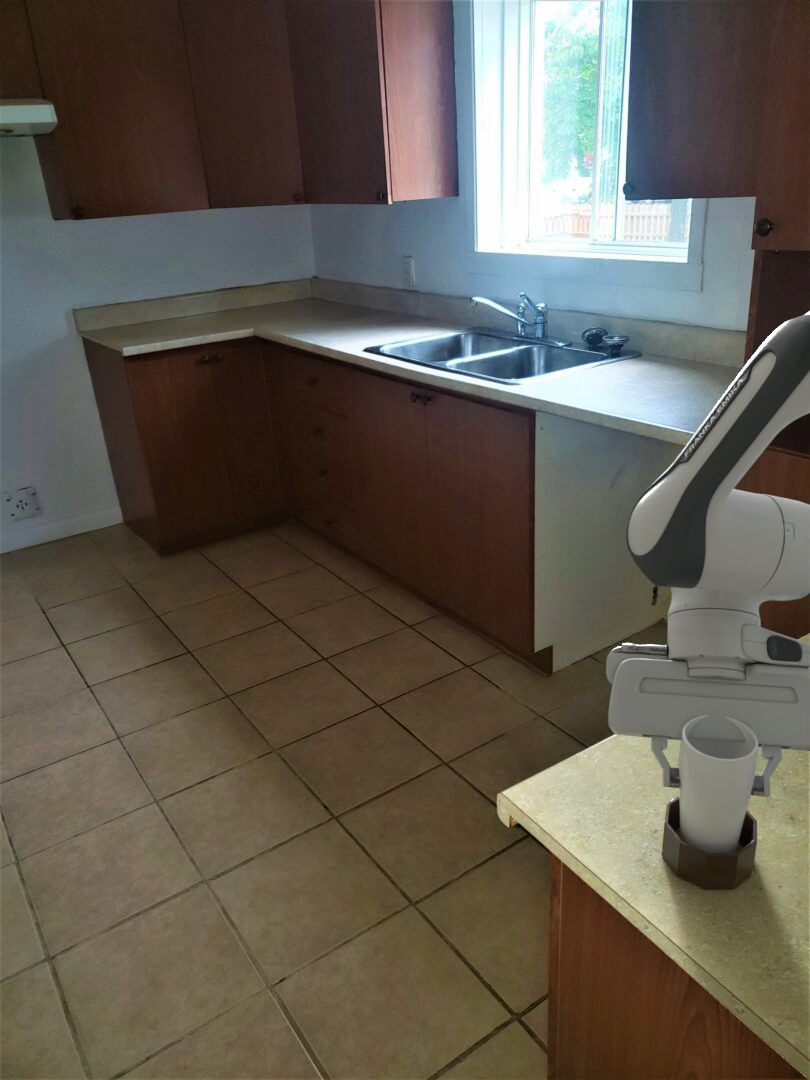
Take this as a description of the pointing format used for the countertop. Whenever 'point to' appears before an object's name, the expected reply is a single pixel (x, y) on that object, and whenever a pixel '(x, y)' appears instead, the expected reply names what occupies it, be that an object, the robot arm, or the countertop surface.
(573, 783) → the countertop surface
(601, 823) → the countertop surface
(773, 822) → the countertop surface
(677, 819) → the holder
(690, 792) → the drinking glass
